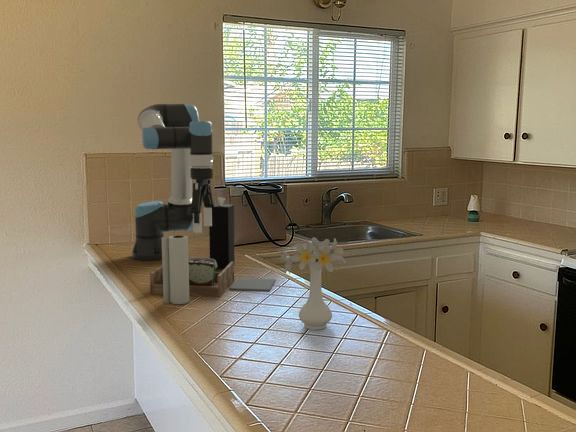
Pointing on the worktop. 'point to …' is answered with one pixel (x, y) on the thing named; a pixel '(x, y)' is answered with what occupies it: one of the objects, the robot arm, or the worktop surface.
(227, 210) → the black bar
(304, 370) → the worktop surface
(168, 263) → the paper towel roll
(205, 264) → the food container
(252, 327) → the worktop surface
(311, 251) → the flower vase
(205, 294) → the rack
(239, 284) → the mat
